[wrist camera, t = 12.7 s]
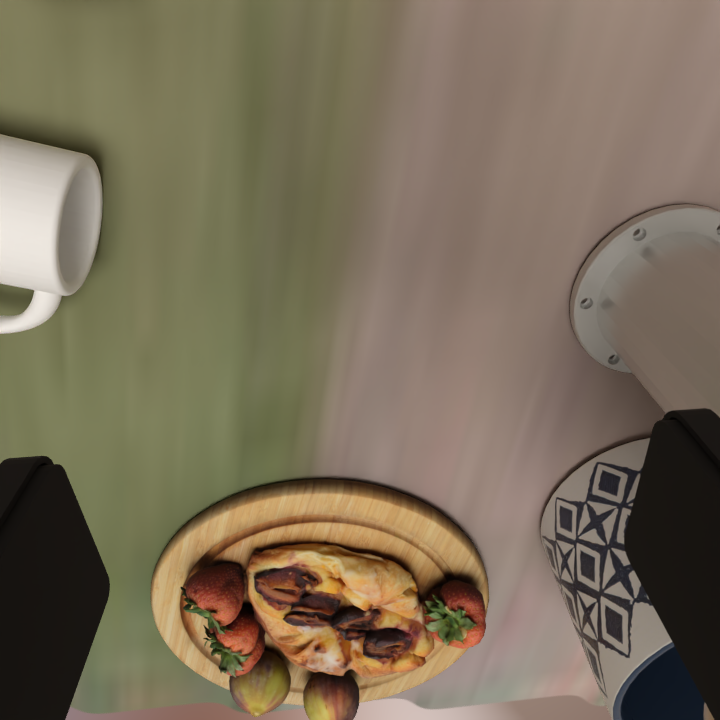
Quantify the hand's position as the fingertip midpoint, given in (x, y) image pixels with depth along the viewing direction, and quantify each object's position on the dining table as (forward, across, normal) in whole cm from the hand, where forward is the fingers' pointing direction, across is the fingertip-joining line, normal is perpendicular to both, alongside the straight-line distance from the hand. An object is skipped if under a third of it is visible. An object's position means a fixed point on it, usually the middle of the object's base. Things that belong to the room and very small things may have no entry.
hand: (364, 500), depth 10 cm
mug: (+31, +20, +4) cm, 37 cm away
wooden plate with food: (+31, +4, +43) cm, 53 cm away
